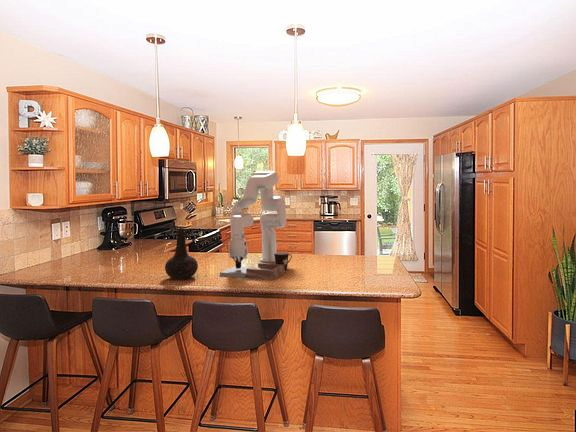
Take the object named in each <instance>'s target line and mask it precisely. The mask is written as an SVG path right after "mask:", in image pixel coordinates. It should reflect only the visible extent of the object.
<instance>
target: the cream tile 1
mask: <svg viewBox="0 0 576 432" xmlns="http://www.w3.org/2000/svg"><path fill="white" fill-rule="evenodd" d="M248 267H249V268H251V269H260V268H258V266H256V265H251V266H248Z"/></svg>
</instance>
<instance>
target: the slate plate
mask: <svg viewBox="0 0 576 432" xmlns="http://www.w3.org/2000/svg"><path fill="white" fill-rule="evenodd" d="M249 267H250V266H241V268H239V269H238V268H237V269H236V265H235V266H231V267H229V268H227V269H225V270H222V271H220V272H219V277H230V278H231V277H232V278H243V279H244V278H245V279H246V269H247V268H249Z"/></svg>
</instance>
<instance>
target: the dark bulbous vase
mask: <svg viewBox="0 0 576 432" xmlns="http://www.w3.org/2000/svg"><path fill="white" fill-rule="evenodd" d="M175 232H176V244H175V245H176V246H175V251H174V254H173V256H172V257H170V258H169V259H168V260H166V263H165V264H164V270H165V271H164V272H165V273H166V274H167V276H168V277H169V278H171V279H173V280H187V279H190V278H193V277H194V276H195V274H196V273H197V271H198V268H199V266H198V265H199V264H198V261H197V260H196V258H195V257H192V256H190V255H189V254H188V251H187V244H186V233H187V231H186V229H185V227H184V228H181V227H180V228H177V229H176V231H175Z"/></svg>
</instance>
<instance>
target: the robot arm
mask: <svg viewBox="0 0 576 432" xmlns="http://www.w3.org/2000/svg"><path fill="white" fill-rule="evenodd" d="M251 175H252V176H250V177H249V178H248V179H247V181H246V185H245V188H244V190H243V191H244V192H243V195H242V197H241V198H240V199H239V200H238V201H237V202H236V203H234V205H233V207H232V209H231V212H230V216H229V224H230V240H229V243H228V255H229V258H230V259H232V260H233V261H234V264H235V266H236V269H237V268H238V269H239V268H241V267H242V261H243V260H246V259H247V258H248V253H249V251H248V244H247V239H246V238H247V235H245V228H249V227H251V226H252V225H254V221H255V220H254V219H255V217H253V215H251V214H249V213H248V214H247V213H241V211H242V210H244V209H245V208H247V207H248V206H251V205H254V204H256V202H257V199H258V196H259V194H260V206H261V209H262V210H263V211H265V212H264V213H262V214H261V215H260V217H259V223H260V227H261V256H262V257H260V258H259V261H260V262H262V263H273V262H274V263H275V255H274V253H277V233H276V230H275V229H276V228H277V229H279V228H280V229H281V228H284V227H286V224H287V210H286V209H287V208H286V201H285V199H284V198H283V197H282V196H275V195H274V188H273V187H275V185H276V184H278V182H279V179H280V177H279V174H278V172H276V171H275V170H274V171H273V170H268V171H266V170H263V171H262V170H261V171H254V172H253V173H252V174H251Z"/></svg>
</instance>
